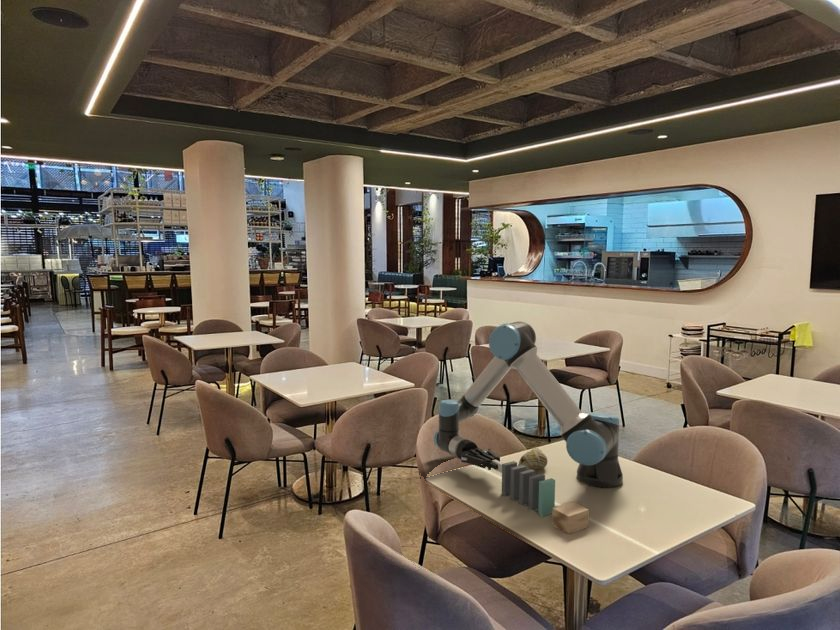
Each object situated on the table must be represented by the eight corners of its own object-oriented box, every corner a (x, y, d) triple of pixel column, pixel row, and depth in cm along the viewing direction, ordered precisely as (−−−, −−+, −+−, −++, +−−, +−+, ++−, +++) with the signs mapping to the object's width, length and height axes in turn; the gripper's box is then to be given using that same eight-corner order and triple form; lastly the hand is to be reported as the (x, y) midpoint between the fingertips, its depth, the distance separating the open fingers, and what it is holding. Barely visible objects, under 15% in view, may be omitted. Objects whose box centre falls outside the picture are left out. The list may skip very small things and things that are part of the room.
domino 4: (528, 508, 162) (529, 476, 161) (540, 505, 165) (541, 473, 164) (532, 510, 161) (532, 478, 160) (544, 507, 163) (545, 475, 163)
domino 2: (510, 498, 169) (510, 468, 168) (522, 495, 172) (522, 465, 171) (513, 500, 168) (514, 469, 167) (525, 497, 171) (526, 466, 170)
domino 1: (501, 493, 173) (502, 463, 172) (513, 490, 175) (513, 461, 175) (504, 495, 172) (505, 465, 171) (516, 492, 174) (517, 462, 173)
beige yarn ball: (515, 470, 191) (517, 442, 195) (521, 474, 199) (523, 447, 203) (543, 473, 187) (545, 445, 191) (548, 477, 195) (550, 449, 199)
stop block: (552, 525, 152) (552, 508, 151) (572, 518, 156) (572, 501, 156) (568, 533, 147) (568, 516, 146) (588, 526, 151) (588, 509, 150)
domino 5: (538, 514, 159) (539, 481, 158) (550, 510, 161) (551, 478, 160) (542, 516, 157) (542, 483, 156) (554, 512, 160) (555, 479, 159)
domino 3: (519, 503, 166) (519, 472, 165) (531, 500, 168) (531, 469, 167) (522, 505, 164) (523, 474, 164) (534, 501, 167) (535, 470, 166)
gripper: (477, 456, 198) (521, 477, 178) (448, 462, 191) (490, 485, 171) (478, 436, 197) (521, 455, 177) (448, 442, 190) (490, 462, 170)
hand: (506, 469), depth 174 cm, fingers closed
